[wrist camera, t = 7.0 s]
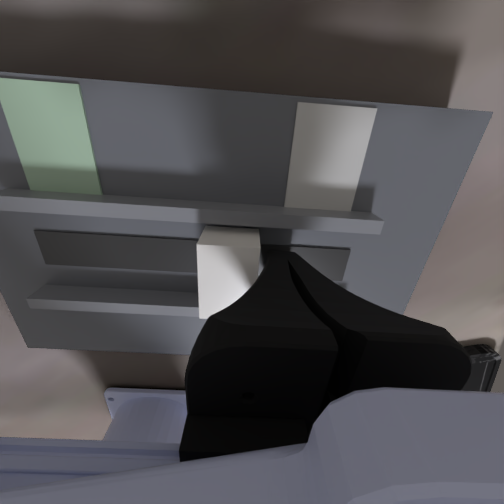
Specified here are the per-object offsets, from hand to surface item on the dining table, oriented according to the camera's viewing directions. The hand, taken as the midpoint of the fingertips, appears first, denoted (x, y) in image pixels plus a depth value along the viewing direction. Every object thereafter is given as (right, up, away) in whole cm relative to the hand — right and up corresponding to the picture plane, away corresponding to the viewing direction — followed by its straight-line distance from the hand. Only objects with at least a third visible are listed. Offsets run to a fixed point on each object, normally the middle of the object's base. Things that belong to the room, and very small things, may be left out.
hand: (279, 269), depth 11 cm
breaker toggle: (-2, 0, 0) cm, 2 cm away
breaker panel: (-3, +2, +3) cm, 5 cm away
